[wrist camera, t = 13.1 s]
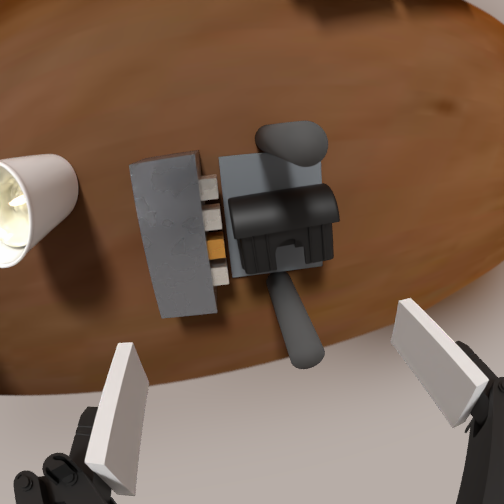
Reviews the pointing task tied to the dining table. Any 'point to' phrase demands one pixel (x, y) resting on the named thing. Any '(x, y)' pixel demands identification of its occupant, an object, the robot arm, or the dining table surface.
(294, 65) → the dining table surface
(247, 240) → the black rounded block
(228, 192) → the mat
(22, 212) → the candle holder
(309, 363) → the post
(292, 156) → the post
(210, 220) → the breaker panel
